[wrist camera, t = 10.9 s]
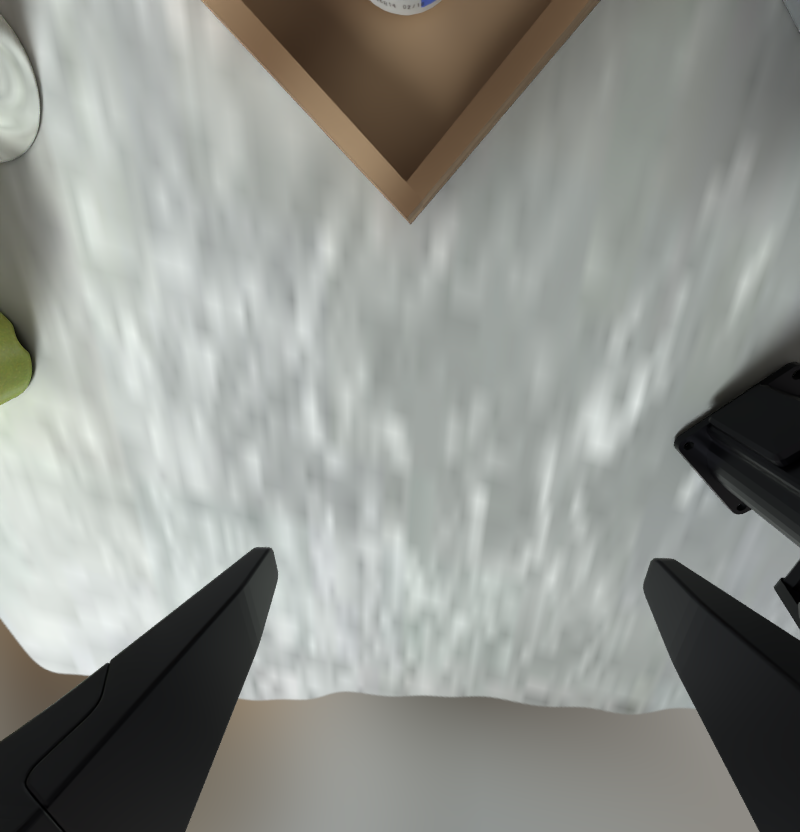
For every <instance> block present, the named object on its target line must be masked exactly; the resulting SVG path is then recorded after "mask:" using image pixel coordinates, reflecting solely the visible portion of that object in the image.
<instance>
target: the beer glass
mask: <svg viewBox="0 0 800 832" xmlns="http://www.w3.org/2000/svg"><path fill="white" fill-rule="evenodd" d="M39 121H40V98H39V91H38V86H37V82H36V78H35V75H34V72H33V69H32V66H31V63H30V61H29V59H28V56H27V54H26V52H25V50H24V48H23V46H22V44H21V43H20V41H19V39H18V37H17V36H16V34H15V33H14V31H13V30H12V28H11V27H10V25H9V24H8V23H7V22H6V20H5V19H4V18H3V17H2V15H1V14H0V162H7V161H11V160H14V159H16V158H18V157H19V156H21V155H22V154H24V153H25V152H26V151H27V150H28V148H29V147H30V146H31V144H32V143H33V141H34V139H35V136H36V134H37V131H38V127H39Z"/></svg>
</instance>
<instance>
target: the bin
mask: <svg viewBox="0 0 800 832" xmlns="http://www.w3.org/2000/svg"><path fill="white" fill-rule="evenodd" d="M783 2H784V4H785V6H786V7H787V9H788V11H789V13H790V15H791V17H792V19H793V21H794V23H795V25H796V26H797V28H798V30H799V32H800V0H783Z"/></svg>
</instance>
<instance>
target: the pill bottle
mask: <svg viewBox="0 0 800 832" xmlns="http://www.w3.org/2000/svg"><path fill="white" fill-rule="evenodd" d="M370 1H371V2H372V3H373V4H375V5H376V6H378V7H379V8H381V9H383V10H384V11H387V12H390V13H394V14H399V15H413V14H418V13H422V12H424V11H427V10H429V9H431V8H433V7H434V6H435V5H437V4H438V3H439V2H441V1H442V0H370Z"/></svg>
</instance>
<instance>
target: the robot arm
mask: <svg viewBox="0 0 800 832" xmlns="http://www.w3.org/2000/svg"><path fill="white" fill-rule="evenodd" d="M795 371H797V372H796V374H795V375H793V373H794V372H795ZM792 375H793V376H792ZM687 442H689V444H688V445H686V446H684V444H685V443H687ZM674 446H675V448H676V449H677V451H678V452H679V453H680V454H681V455H682V456H683V457H684V459H685V460H686V461H687V462H688V463H689V464H690V465H691V467H692V468H693V469H694V470H695V471H696V472H697V473H698V475H699V476H700V477H701V478H702V479H703V480H704V481H705V482H706V484H707V485H708V486H709V487H710V488H711V489H712V490H713V492H714V493H715V494H716V495H717V496H718V497H719V498H720V500H721V501H722V502H723V503H724V504H725V505H726V506H727V508H729V509H730V510H731V511H732V512H733V513H735V514H743V513H746V512H748V511H750V510H751V509H752V510H753V511H755V512H756V513H757V514H758V515H760V516H761V517H762V518H763V519H765V520H766V521H767V522H768V523H770V524H771V525H772V526H773V527H775V528H776V529H777V530H778V531H780V532H781V533H782V534H783V535H785V536H786V537H787V538H788V539H790V540H791V541H792V542H793V543H795V544H796V545H797V546H798V547H800V363H797V362H793V363H789V364H787V365H785V366H784V367H782V368H781V369H779V370H778V371H776V372H775V373H773V374H772V375H770V376H769V377H767V378H766V379H764V380H763V381H761V382H760V383H758V384H757V385H755V386H754V387H752V388H751V389H749V390H748V391H746V392H745V393H743V394H742V395H740V396H739V397H737V398H736V399H734V400H733V401H731V402H730V403H728V404H727V405H725V406H724V407H722V408H721V409H719V410H718V411H716V412H715V413H713V414H712V415H710V416H709V417H707V418H706V419H704V420H703V421H701V422H700V423H698V424H697V425H695V426H694V427H692V428H691V429H689V430H688V431H686V432H685V433H683V434H682V435H680V436H679V437H678V438H677V439H676V440H675V442H674ZM739 504H740V505H739ZM277 580H278V570H277V565H276V561H275V556H274V552H273V550H272V548H269V547H256V548H254V549H252V550H251V551H249V552H248V553H247V554H246V555H244V556H243V557H242V558H240V559H239V560H238V561H237V562H235V563H234V564H233V565H232V566H230V567H229V568H228V569H226V570H225V571H224V572H223V573H221V574H220V575H219V576H217V577H216V578H215V579H214V580H212V581H211V582H210V583H209V584H207V585H206V586H205V587H203V588H202V589H201V590H200V591H198V592H197V593H196V594H194V595H193V596H192V597H191V598H189V599H188V600H187V601H186V602H184V603H183V604H182V605H180V606H179V607H178V608H177V609H175V610H174V611H173V612H171V613H170V614H169V615H168V616H166V617H165V618H164V619H162V620H161V621H160V622H159V623H157V624H156V625H155V626H154V627H152V628H151V629H150V630H148V631H147V632H146V633H145V634H143V635H142V636H141V637H139V638H138V639H137V640H136V641H134V642H133V643H132V644H131V645H129V646H128V647H127V648H125V649H124V650H123V651H122V652H120V653H119V654H118V655H116V656H115V657H114V658H113V659H111V661H110V663H106V664H105V665H103V666H102V667H101V668H100V669H98V670H97V671H96V672H95V673H93V674H92V675H91V676H89V677H88V678H87V679H86V680H84V681H83V682H82V683H80V684H79V685H78V686H76V687H75V688H74V689H72V690H71V691H70V692H68V693H67V694H66V695H64V696H63V697H62V698H60V699H59V700H58V701H57V702H55V703H54V704H52V705H51V706H50V707H48V708H47V709H45V710H44V711H43V712H41V713H40V714H39V715H37V716H36V717H34V718H33V719H32V720H30V721H29V722H27V723H26V724H25V725H23V726H22V727H20V728H19V729H18V730H17V731H15V732H13V733H12V734H10V735H9V736H8V737H6V738H5V739H3V740H2V741H0V832H185V831H186V829H187V826H188V824H189V821H190V818H191V816H192V813H193V811H194V808H195V806H196V803H197V801H198V798H199V796H200V793H201V791H202V788H203V785H204V783H205V780H206V778H207V776H208V773H209V770H210V768H211V765H212V763H213V760H214V758H215V755H216V753H217V750H218V748H219V745H220V743H221V740H222V738H223V735H224V733H225V730H226V728H227V725H228V723H229V720H230V717H231V715H232V712H233V710H234V707H235V705H236V702H237V700H238V697H239V695H240V692H241V690H242V687H243V685H244V682H245V680H246V677H247V675H248V672H249V670H250V667H251V664H252V662H253V659H254V657H255V654H256V652H257V649H258V646H259V643H260V640H261V637H262V633H263V630H264V626H265V623H266V619H267V616H268V612H269V609H270V605H271V602H272V598H273V595H274V591H275V588H276V584H277ZM643 589H644V594H645V597H646V599H647V602H648V604H649V606H650V609H651V611H652V614H653V616H654V619H655V621H656V624H657V626H658V629H659V631H660V634H661V636H662V639H663V641H664V644H665V646H666V648H667V651H668V653H669V656H670V658H671V660H672V662H673V665H674V667H675V669H676V671H677V673H678V675H679V677H680V679H681V681H682V683H683V685H684V687H685V688H686V690H687V692H688V694H689V696H690V698H691V700H692V702H693V704H694V706H695V708H696V710H697V711H698V714H699V716H700V717H701V719H702V721H703V723H704V725H705V727H706V729H707V731H708V733H709V735H710V737H711V739H712V741H713V743H714V745H715V747H716V748H717V750H718V752H719V754H720V756H721V758H722V760H723V762H724V764H725V766H726V768H727V770H728V772H729V774H730V775H731V777H732V779H733V781H734V783H735V785H736V787H737V789H738V791H739V793H740V795H741V797H742V799H743V800H744V803H745V805H746V806H747V808H748V810H749V812H750V814H751V816H752V818H753V820H754V822H755V824H756V826H757V828H758V830H759V831H760V832H800V640H798V639H797V638H795V637H793V636H792V635H790V634H789V633H787V632H786V631H784V630H783V629H781V628H780V627H778V626H776V625H775V624H773V623H772V622H770V621H769V620H767V619H766V618H764V617H763V616H761V615H760V614H758V613H756V612H755V611H753V610H752V609H750V608H749V607H747V606H746V605H744V604H743V603H741V602H739V601H738V600H736V599H735V598H733V597H732V596H730V595H729V594H727V593H726V592H724V591H722V590H721V589H719V588H718V587H716V586H715V585H713V584H712V583H710V582H709V581H707V580H706V579H704V578H702V577H701V576H699V575H698V574H696V573H695V572H693V571H692V570H690V569H689V568H687V567H685V566H684V565H682V564H681V563H679V562H678V561H676V560H674V559H670V558H654V559H653V560H652V561H651V562H650V565H649V568H648V571H647V574H646V577H645V580H644V584H643ZM774 589H775V591H776V592H777V594H778V596H779V597H780V599H781V600H782V602H783V604H784V605H785V607H786V608H787V610H788V611H789V613H790V615H791V616H792V618H793V619H794V621H795V623H796V624H797V626H798V627H799V629H800V559H799V561H798V562H797V563H796V564H795V566H794V567H793V568H792V569H791V571H790V572H789V573H788V575H787V576H786V577H785V578H781V579H780V580H779V581H778V582H777V584H776V585H775V586H774Z"/></svg>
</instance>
